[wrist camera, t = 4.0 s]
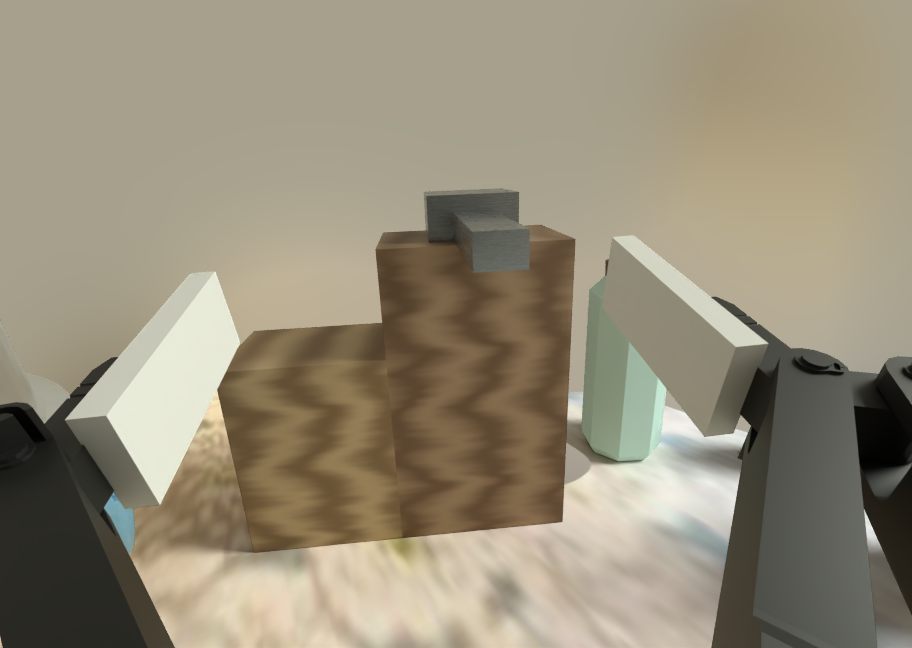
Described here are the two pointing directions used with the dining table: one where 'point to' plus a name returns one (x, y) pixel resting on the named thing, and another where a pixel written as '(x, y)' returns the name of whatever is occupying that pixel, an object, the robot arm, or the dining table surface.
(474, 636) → the dining table surface
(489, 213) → the grey t-shaped block
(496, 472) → the stepped stand
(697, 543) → the dining table surface
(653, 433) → the water bottle
